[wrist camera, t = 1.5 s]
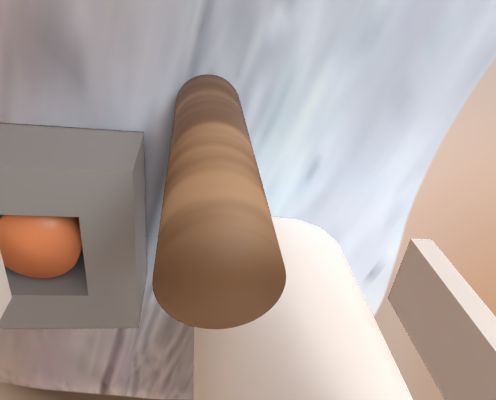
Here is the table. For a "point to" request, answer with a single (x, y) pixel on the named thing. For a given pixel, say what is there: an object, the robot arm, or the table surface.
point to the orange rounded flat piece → (40, 244)
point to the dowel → (215, 216)
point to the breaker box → (90, 218)
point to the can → (302, 335)
